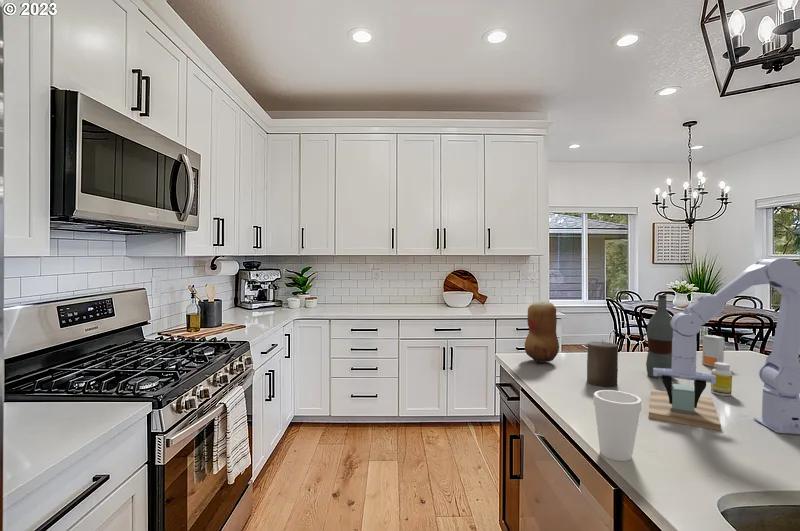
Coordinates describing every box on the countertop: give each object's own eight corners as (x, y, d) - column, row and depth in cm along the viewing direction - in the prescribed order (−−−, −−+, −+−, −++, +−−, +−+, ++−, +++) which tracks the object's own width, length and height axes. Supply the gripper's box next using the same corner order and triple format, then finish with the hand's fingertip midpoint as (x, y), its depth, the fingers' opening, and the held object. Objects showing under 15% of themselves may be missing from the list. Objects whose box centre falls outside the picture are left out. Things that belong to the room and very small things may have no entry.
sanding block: (694, 415, 117) (694, 393, 117) (672, 411, 120) (672, 390, 119) (692, 407, 123) (693, 386, 123) (671, 404, 126) (672, 383, 125)
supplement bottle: (735, 396, 137) (736, 366, 137) (715, 395, 138) (716, 365, 138) (725, 391, 143) (726, 362, 142) (707, 390, 144) (708, 361, 144)
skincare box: (701, 364, 178) (702, 335, 178) (707, 363, 180) (708, 334, 180) (717, 368, 173) (718, 338, 172) (724, 366, 174) (724, 337, 174)
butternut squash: (518, 359, 184) (519, 300, 183) (545, 357, 188) (546, 299, 187) (538, 367, 171) (539, 304, 170) (566, 365, 175) (567, 303, 174)
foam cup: (599, 441, 104) (600, 387, 103) (643, 453, 98) (644, 395, 97) (587, 455, 96) (588, 397, 96) (634, 469, 90) (635, 407, 90)
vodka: (681, 378, 157) (683, 295, 157) (663, 381, 154) (665, 296, 153) (657, 371, 166) (659, 293, 165) (640, 374, 163) (642, 294, 162)
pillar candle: (619, 388, 145) (620, 343, 145) (587, 385, 148) (588, 341, 148) (615, 380, 154) (616, 338, 154) (585, 378, 157) (586, 336, 157)
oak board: (720, 430, 111) (720, 424, 111) (648, 417, 119) (648, 412, 119) (711, 403, 131) (712, 398, 131) (650, 393, 139) (650, 389, 139)
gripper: (653, 355, 121) (652, 404, 122) (717, 363, 114) (716, 414, 114) (653, 351, 127) (652, 397, 128) (714, 357, 120) (713, 406, 120)
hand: (682, 404), depth 121 cm, fingers closed on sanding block, 5 cm apart
